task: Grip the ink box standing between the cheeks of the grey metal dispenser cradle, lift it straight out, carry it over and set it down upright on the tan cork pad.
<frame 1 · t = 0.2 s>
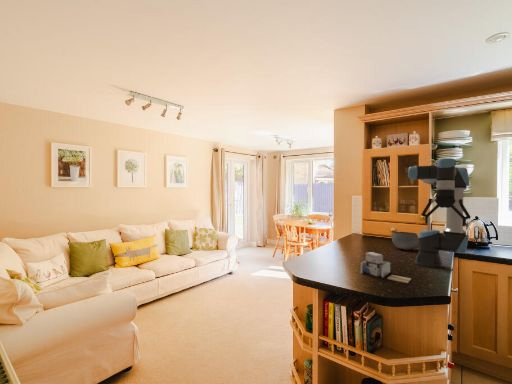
hand: (444, 231, 135), 28 cm above the counter, fingers open, 13 cm apart
cradle: (373, 273, 156), on the counter
ink box: (373, 274, 156), on the counter
pad: (399, 279, 146), on the counter
bowl: (404, 249, 235), on the counter
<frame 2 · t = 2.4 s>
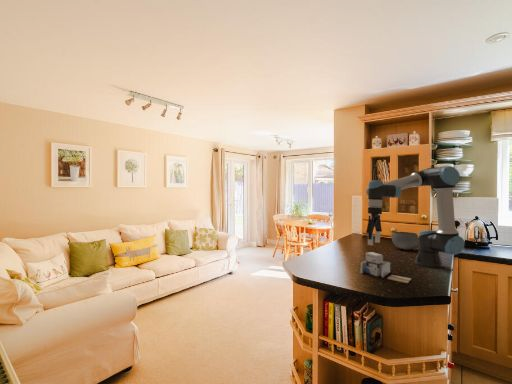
hand: (373, 243, 156), 17 cm above the counter, fingers open, 13 cm apart
nothing on the counter moved.
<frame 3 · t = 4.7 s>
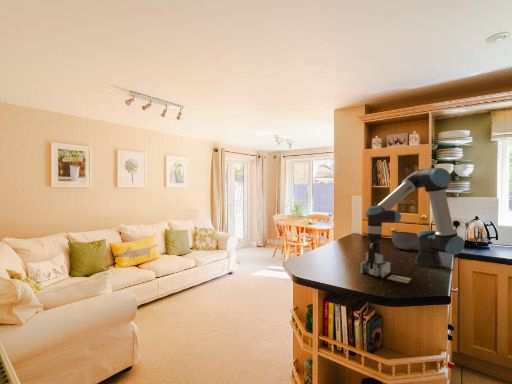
hand: (373, 272, 156), 1 cm above the counter, fingers closed on ink box, 7 cm apart
ink box: (373, 274, 156), on the counter, touching gripper
everything else where it was.
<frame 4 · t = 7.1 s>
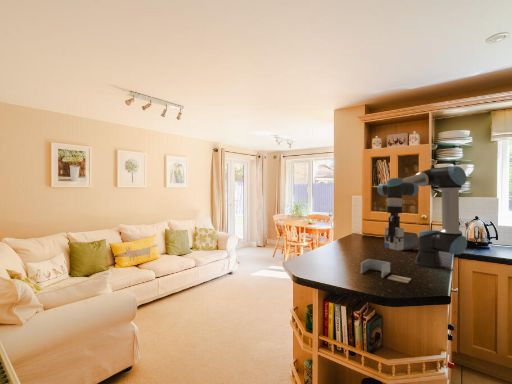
hand: (394, 247, 149), 17 cm above the counter, fingers closed on ink box, 7 cm apart
ink box: (393, 249, 149), point 16 cm above the counter, touching gripper
everything else where it was.
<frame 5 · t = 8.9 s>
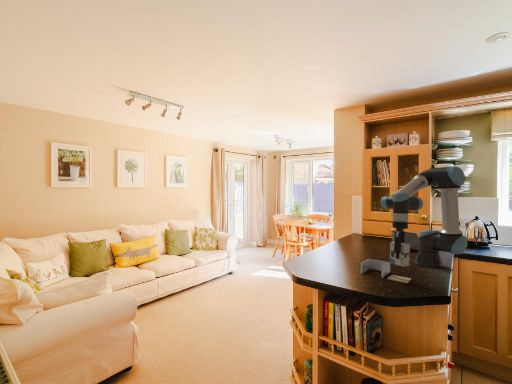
hand: (399, 263, 146), 9 cm above the counter, fingers closed on ink box, 7 cm apart
ink box: (399, 264, 146), point 8 cm above the counter, touching gripper
everything else where it was.
when the fingers open (2 cm above the counter, at t = 10.8 s): ink box stays where it is, resting on pad.
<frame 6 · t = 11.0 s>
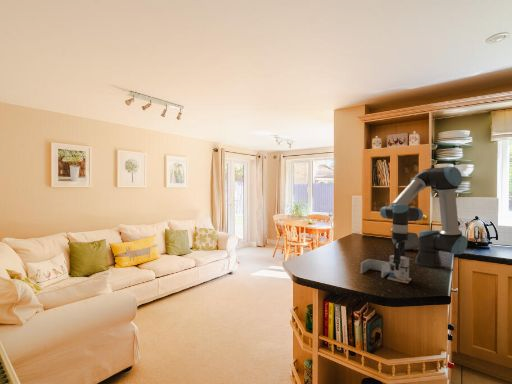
hand: (399, 274, 146), 3 cm above the counter, fingers open, 8 cm apart
ink box: (398, 278, 146), resting on pad
everything else where it was.
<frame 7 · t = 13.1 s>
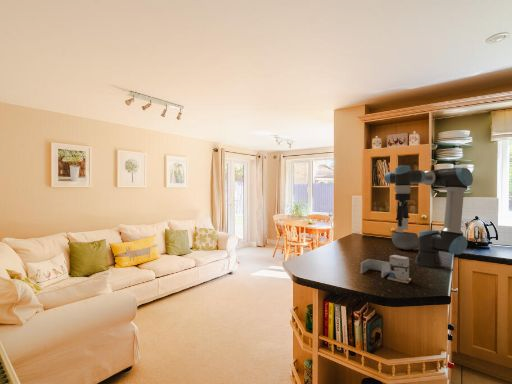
hand: (402, 230, 152), 26 cm above the counter, fingers open, 13 cm apart
nothing on the counter moved.
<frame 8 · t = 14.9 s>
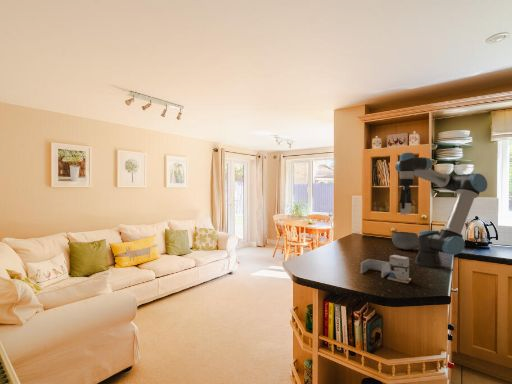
hand: (405, 214, 162), 35 cm above the counter, fingers open, 13 cm apart
nothing on the counter moved.
at the end: ink box inside the target area on the pad (0.2 cm from its centre), point 0.4 cm above the pad's base; ink box tilted 0°; the gripper is holding nothing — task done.
